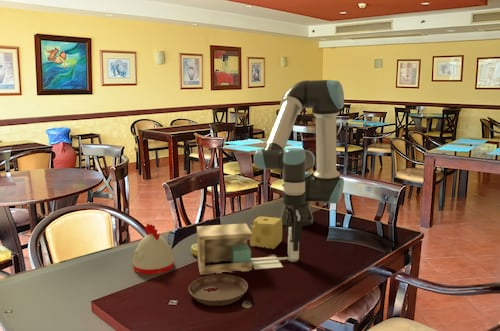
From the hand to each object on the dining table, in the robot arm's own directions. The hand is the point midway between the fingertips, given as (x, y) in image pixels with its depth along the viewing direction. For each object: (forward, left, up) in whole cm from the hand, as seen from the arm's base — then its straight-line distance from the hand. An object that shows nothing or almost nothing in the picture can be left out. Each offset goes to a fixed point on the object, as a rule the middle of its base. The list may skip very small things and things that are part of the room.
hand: (293, 256), depth 163 cm
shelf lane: (+25, 0, -2) cm, 25 cm away
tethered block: (+10, 0, -1) cm, 10 cm away
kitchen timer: (+49, -5, -2) cm, 49 cm away
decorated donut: (+30, -14, -2) cm, 33 cm away
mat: (+10, 0, -2) cm, 10 cm away
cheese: (+5, -20, -2) cm, 21 cm away
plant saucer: (+30, +22, -2) cm, 37 cm away
